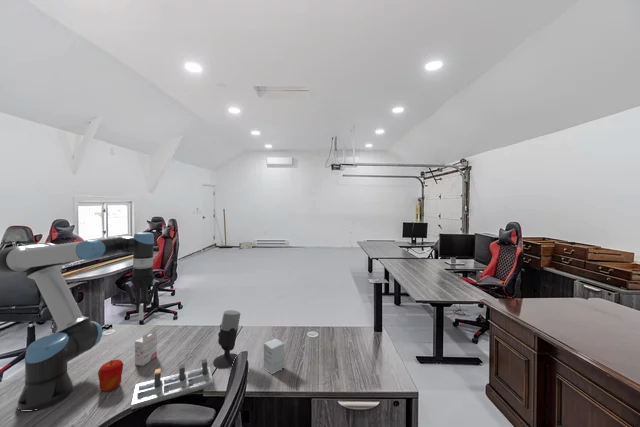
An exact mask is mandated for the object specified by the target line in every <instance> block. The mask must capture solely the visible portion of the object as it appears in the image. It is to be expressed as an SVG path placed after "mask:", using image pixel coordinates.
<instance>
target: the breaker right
mask: <svg viewBox="0 0 640 427" xmlns="http://www.w3.org/2000/svg"><path fill="white" fill-rule="evenodd" d="M207 366H208V359H207V358H205V359H204V358H203V359H202V360H201V368H202V371H200V375H203V374H206V373H208V369H207Z"/></svg>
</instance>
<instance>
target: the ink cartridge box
mask: <svg viewBox="0 0 640 427" xmlns="http://www.w3.org/2000/svg"><path fill="white" fill-rule="evenodd" d="M157 340H158V335H157V329H156V328H155V329H153V330H150V331H149V332H148V333H145V334H143V335H142V337H140V338H138V339H136V340H135V341H134V365H136V366H142V367H143V366H144V365H146V364H147V363H149V362H151V361H152V360H154V359H155V358H157V356H158V354H157V351H158V350H157V348H158V346H157V345H158V344H157V343H158V341H157Z"/></svg>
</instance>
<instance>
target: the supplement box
mask: <svg viewBox="0 0 640 427" xmlns="http://www.w3.org/2000/svg"><path fill="white" fill-rule="evenodd" d="M264 368H266V369H267V370H268V371H270V372H271V373H273V372H276V371H278V370H280V369H282V368H284V369H285V343H284V342H283V341H281V340H280V339H278V338H274V339H272V340H271V339H270V340H269V341H265V342H264V343H263V369H264Z"/></svg>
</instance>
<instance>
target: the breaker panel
mask: <svg viewBox="0 0 640 427" xmlns="http://www.w3.org/2000/svg"><path fill="white" fill-rule="evenodd" d="M207 369H208V373H206V374H203V375H200V371H202V367H200V368H196V369H192V370H187V371H185V375H186V379H184V380H180V381H178V377H179V373H176V374H172V375H168V376H163V377H161V381H162V385H161V386H157V387H153V384H154V383H155V379H151V380H148V381H144V382H140V383H135V388H134V391H133V392H134V393H133V395H132V396H133V397H132V401H131V405H130V406H131V407H130V408H131V410H135V409H140V408H141V407H145V406H149V405H152V404H157V403H159V402H163V401H166V400H170V399H175V398H177V397H180V396H185V395H187V394H192V393H194V392H197V391H198V392H199V391H201V390H205V389H209V388H212V387H214V379H213V374H212V371H211V366H210V365H207Z"/></svg>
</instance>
